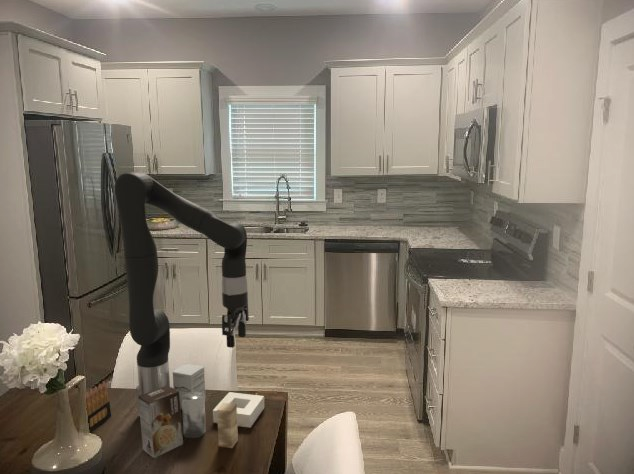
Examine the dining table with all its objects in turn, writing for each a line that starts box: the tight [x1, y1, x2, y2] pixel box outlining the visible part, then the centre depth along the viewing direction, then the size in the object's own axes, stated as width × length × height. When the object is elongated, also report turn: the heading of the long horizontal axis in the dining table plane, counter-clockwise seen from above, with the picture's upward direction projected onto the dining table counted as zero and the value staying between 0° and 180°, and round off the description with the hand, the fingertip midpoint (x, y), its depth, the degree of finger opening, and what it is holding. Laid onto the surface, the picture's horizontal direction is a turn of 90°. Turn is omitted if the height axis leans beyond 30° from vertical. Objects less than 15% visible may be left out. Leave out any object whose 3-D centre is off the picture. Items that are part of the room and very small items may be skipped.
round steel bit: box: [181, 392, 207, 439], centre depth 145 cm, size 6×6×11 cm
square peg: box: [217, 403, 239, 449], centre depth 140 cm, size 4×4×11 cm
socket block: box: [212, 391, 265, 428], centre depth 155 cm, size 12×12×4 cm
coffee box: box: [138, 385, 184, 459], centre depth 138 cm, size 9×6×16 cm
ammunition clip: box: [85, 380, 112, 433], centre depth 150 cm, size 11×2×12 cm, turn 164°
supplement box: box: [172, 363, 206, 410], centre depth 161 cm, size 7×7×13 cm
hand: (236, 341), depth 152 cm, fingers open, 8 cm apart
